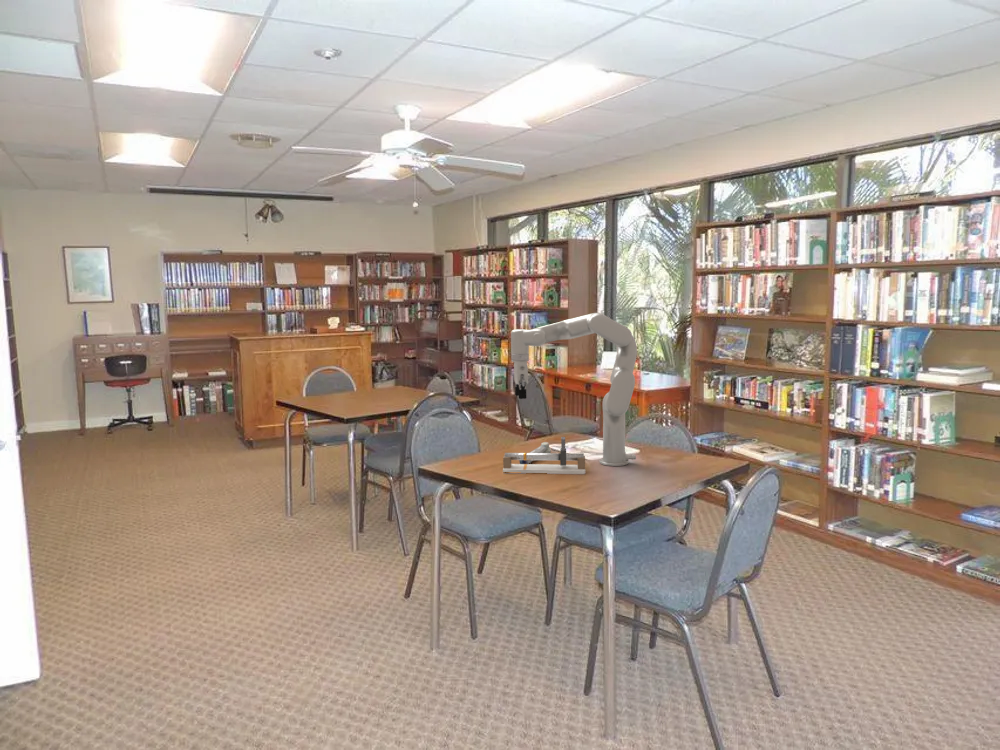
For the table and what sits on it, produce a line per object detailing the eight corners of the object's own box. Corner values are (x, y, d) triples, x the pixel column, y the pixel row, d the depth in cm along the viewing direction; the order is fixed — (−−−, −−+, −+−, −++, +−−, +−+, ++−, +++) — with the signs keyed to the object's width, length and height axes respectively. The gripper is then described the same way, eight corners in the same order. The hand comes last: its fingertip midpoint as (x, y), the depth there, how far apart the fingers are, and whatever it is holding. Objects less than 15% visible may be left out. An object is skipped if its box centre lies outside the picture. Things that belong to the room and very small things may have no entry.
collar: (566, 462, 297) (566, 436, 295) (566, 465, 291) (566, 439, 289) (560, 462, 297) (560, 436, 296) (560, 465, 291) (560, 439, 290)
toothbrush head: (517, 456, 305) (542, 438, 326) (518, 471, 306) (543, 452, 328) (528, 458, 302) (552, 439, 323) (529, 472, 304) (553, 453, 325)
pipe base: (584, 468, 298) (584, 454, 298) (585, 474, 288) (585, 459, 288) (504, 467, 301) (504, 453, 301) (502, 473, 291) (502, 459, 291)
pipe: (583, 459, 294) (583, 452, 294) (583, 461, 291) (583, 454, 291) (505, 459, 297) (505, 451, 297) (504, 460, 294) (504, 453, 294)
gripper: (532, 359, 295) (532, 399, 297) (525, 355, 312) (526, 394, 314) (514, 359, 294) (515, 400, 296) (508, 356, 311) (509, 394, 313)
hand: (520, 397), depth 305 cm, fingers open, 9 cm apart
